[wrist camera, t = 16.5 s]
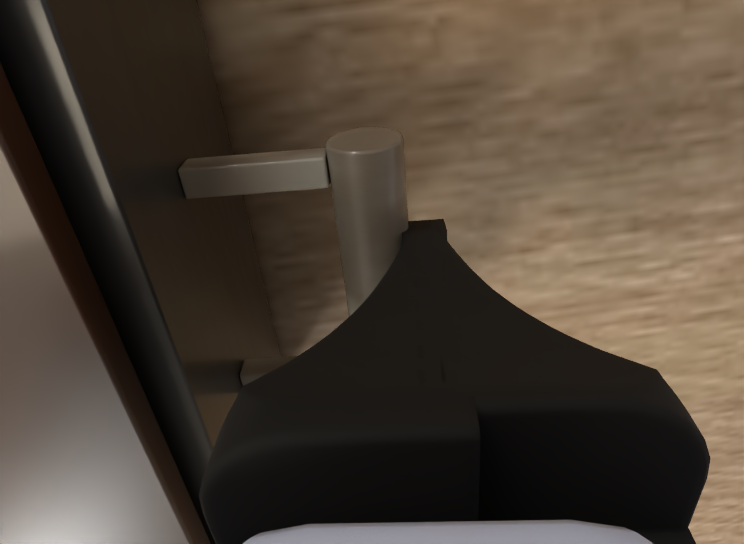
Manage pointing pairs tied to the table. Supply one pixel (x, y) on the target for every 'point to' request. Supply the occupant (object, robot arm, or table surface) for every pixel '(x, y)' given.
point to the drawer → (181, 199)
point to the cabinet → (70, 383)
